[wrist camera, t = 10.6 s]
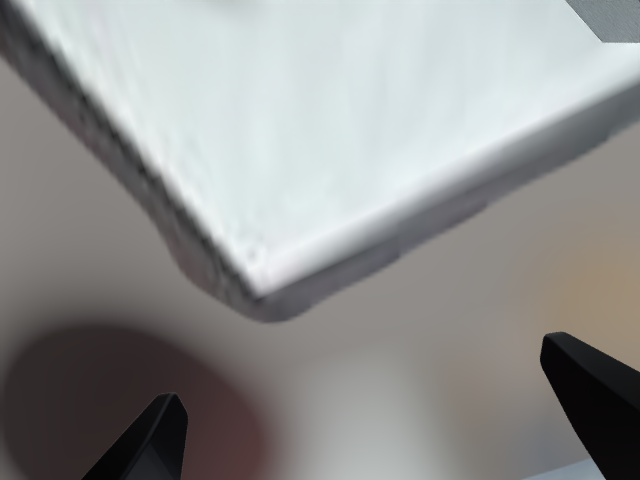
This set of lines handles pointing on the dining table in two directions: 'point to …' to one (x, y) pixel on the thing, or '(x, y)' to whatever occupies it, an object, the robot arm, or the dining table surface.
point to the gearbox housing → (611, 19)
